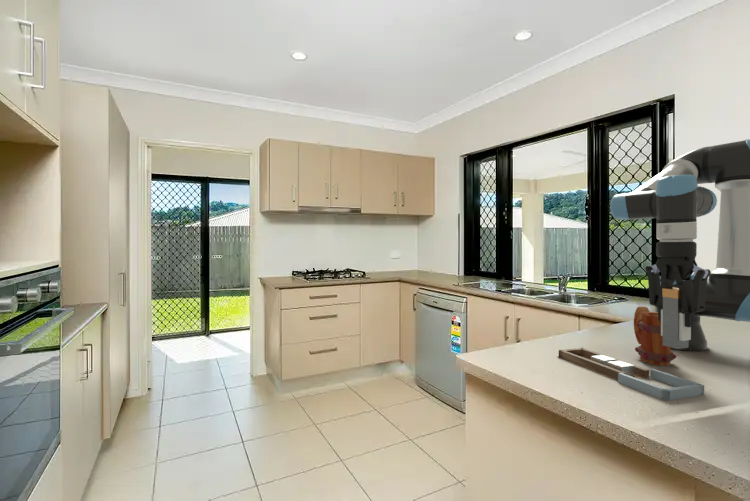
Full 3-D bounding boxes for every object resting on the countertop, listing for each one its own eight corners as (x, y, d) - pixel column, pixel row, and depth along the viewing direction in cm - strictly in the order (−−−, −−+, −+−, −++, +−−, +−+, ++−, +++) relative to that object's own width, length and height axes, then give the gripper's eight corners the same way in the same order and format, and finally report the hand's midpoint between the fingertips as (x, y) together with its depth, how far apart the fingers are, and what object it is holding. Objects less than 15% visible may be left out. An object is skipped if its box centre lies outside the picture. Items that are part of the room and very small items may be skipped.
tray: (653, 380, 91) (653, 368, 91) (704, 399, 80) (704, 385, 80) (618, 385, 88) (618, 373, 88) (666, 405, 77) (666, 391, 77)
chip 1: (602, 364, 100) (602, 354, 100) (616, 368, 96) (616, 359, 96) (590, 365, 99) (590, 356, 99) (603, 370, 95) (604, 360, 95)
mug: (682, 371, 97) (683, 314, 97) (647, 369, 99) (648, 313, 98) (652, 355, 111) (653, 305, 111) (622, 353, 113) (622, 304, 113)
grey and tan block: (673, 343, 92) (673, 287, 92) (688, 347, 89) (689, 289, 88) (662, 345, 91) (662, 288, 91) (677, 349, 88) (678, 290, 87)
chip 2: (619, 370, 95) (619, 360, 95) (634, 375, 92) (634, 365, 92) (607, 371, 94) (607, 361, 94) (621, 377, 90) (621, 366, 90)
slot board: (584, 356, 110) (584, 347, 110) (651, 381, 91) (651, 369, 90) (556, 359, 107) (556, 350, 107) (619, 385, 88) (619, 373, 88)
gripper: (631, 241, 96) (631, 331, 97) (703, 241, 80) (703, 349, 81) (653, 240, 98) (652, 328, 99) (728, 240, 82) (727, 345, 83)
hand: (675, 337), depth 90 cm, fingers closed on grey and tan block, 3 cm apart
